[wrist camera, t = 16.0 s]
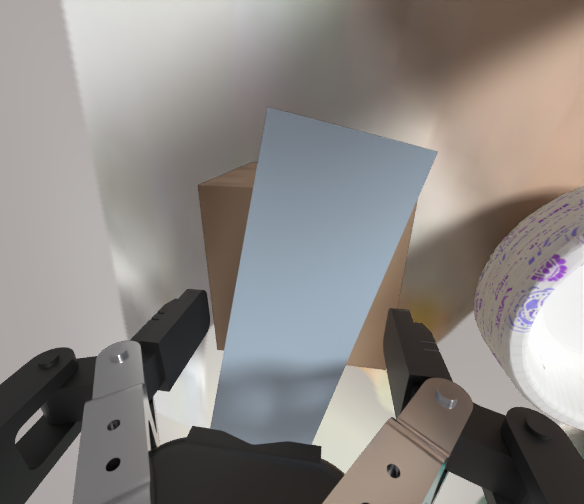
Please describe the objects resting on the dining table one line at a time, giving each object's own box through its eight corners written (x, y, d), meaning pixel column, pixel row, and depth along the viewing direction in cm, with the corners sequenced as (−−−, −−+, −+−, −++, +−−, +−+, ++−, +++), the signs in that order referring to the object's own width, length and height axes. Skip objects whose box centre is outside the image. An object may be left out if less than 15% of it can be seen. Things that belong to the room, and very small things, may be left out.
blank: (399, 141, 12) (437, 151, 7) (310, 380, 18) (300, 469, 13) (294, 113, 12) (267, 106, 7) (241, 359, 18) (208, 440, 13)
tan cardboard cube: (387, 166, 21) (418, 194, 12) (370, 288, 25) (385, 369, 16) (250, 162, 22) (197, 185, 14) (255, 279, 26) (217, 349, 18)
